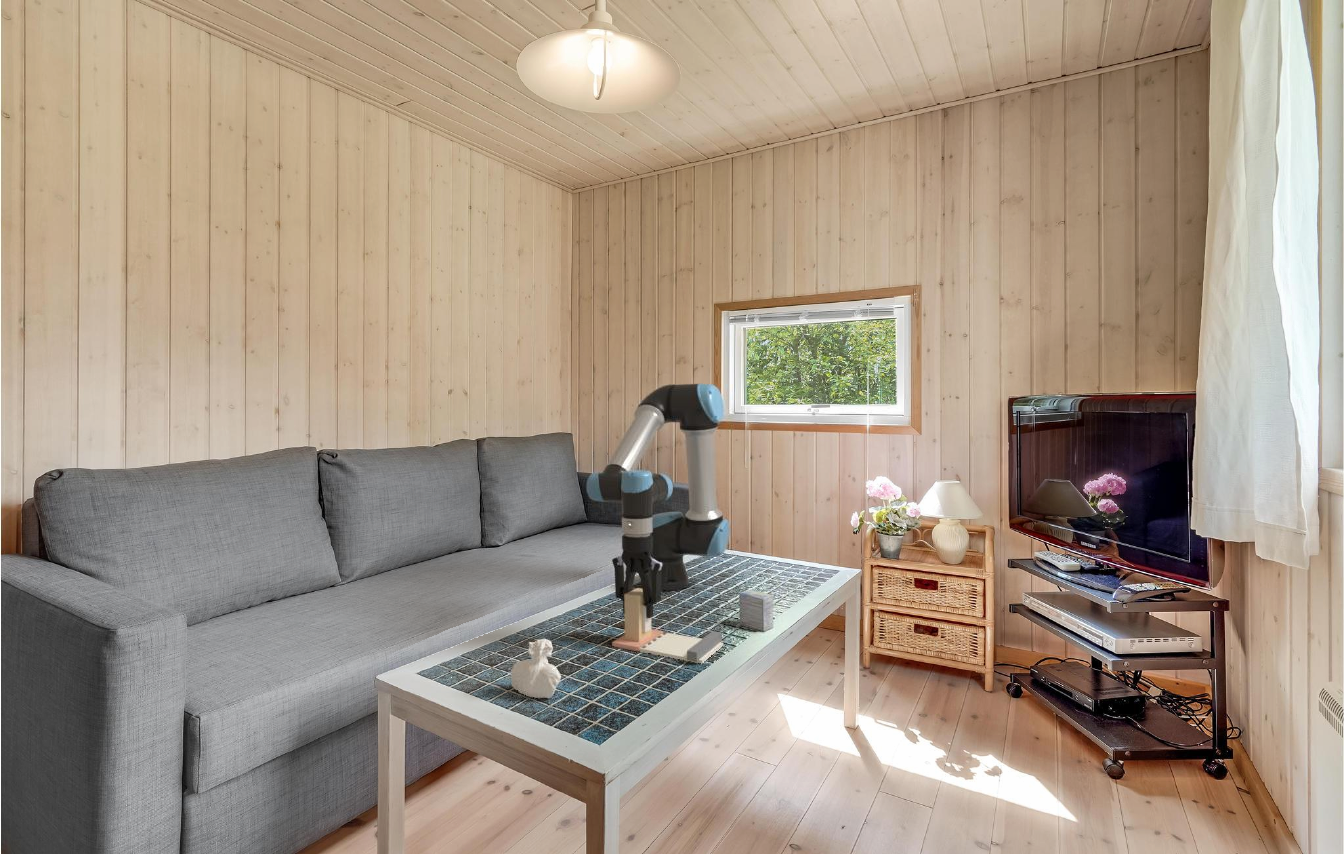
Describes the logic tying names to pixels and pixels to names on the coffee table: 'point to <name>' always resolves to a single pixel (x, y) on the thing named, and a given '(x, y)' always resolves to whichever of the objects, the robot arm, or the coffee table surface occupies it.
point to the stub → (635, 623)
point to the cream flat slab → (684, 646)
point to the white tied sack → (536, 672)
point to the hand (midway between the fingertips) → (638, 628)
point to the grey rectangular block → (756, 610)
